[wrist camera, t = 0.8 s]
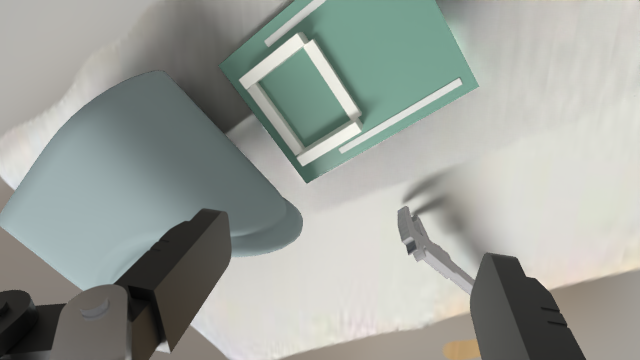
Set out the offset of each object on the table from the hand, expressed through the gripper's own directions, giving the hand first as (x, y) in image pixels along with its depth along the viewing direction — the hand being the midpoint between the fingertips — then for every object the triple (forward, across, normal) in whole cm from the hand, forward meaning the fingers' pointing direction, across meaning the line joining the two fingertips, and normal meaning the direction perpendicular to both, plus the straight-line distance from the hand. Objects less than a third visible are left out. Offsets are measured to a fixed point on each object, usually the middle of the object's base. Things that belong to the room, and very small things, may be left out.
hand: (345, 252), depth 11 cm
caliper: (+24, -12, +18) cm, 32 cm away
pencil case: (+22, +20, +13) cm, 33 cm away
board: (+23, +3, -2) cm, 23 cm away
